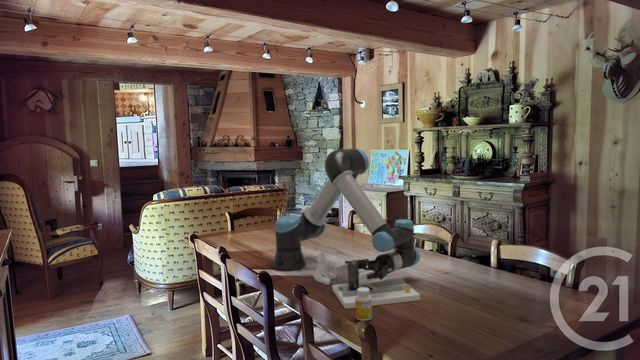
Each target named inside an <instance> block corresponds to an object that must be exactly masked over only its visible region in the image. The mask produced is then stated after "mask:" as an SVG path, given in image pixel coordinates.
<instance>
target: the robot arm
mask: <svg viewBox="0 0 640 360" xmlns="http://www.w3.org/2000/svg"><path fill="white" fill-rule="evenodd" d="M324 161H325V162H324V170H325V173H326V176H327V178H328V180H327V181H326V183H325V184H324V186H323V187H322V189H321V190H320V192H319V194H318V195H317V196H316V198H315V200H314V201H313V203H312V204H311V206H310V207H306V208H305V209H304V211H303V212H302V214H301V215H300V216H299V215H297V214H290V215H289V214H288V215H283V216H281V217H278V218H277V219H276V220H275V225H274V226H275V227H274V232H275V233H274V234H275V247H276V248H275V249H276V250H275V253H274V259H273V263H272V265H273V267H272V268H273V269H274V270H276V271H280V270H281V272H293V271H292V270H294V271H298V269H299V270H301V268H302V269H303V268H305V267H306V259H305V255H304V253H303V251H302V242H304V241H307V240H310V239H315V238H318V237H319V236H321V235H323V233H324V232H325V229H326V227H327V226H326V221H327V218H326V217H327V216H328V214H330V211H331V210H332V208H333V207H334V205H335V204H336V203H337V201H338V199H339V198H340V196H341V195H343V196H344V198H345V199H346V201H347V202H348V203H349V205H350V206H351V207H352V210H354V212H355V214H356V215H357V216H358V218H359V219H360V220H361V222H362V224H363V225H364V226H365V228H366V229H367V231H368V232H369V233H370V234H371V236H372V239H371V242H372V246H373V248H374V249H375V250H376V251H377V252H379V253H382V254H379V255H377V256H376V257H375V259H371V260H369V258H364V259H357V260H356V259H355V260H354V261H358V266H359V270H364V271H367V272H364V273H360V274H359V282H366V281H371V280H373V279H376V280H384V278H385V277H386V276H388V275H389V274H391V273H394V272H396V271H398V270H402V269H407V268H410V267H412V266H415V265H417V264H418V263H419V262H420V260H421V255H420V253H419V251H420V250H418V249H417V248H416V247H415V228H414V222H413V220H410V219H404V218H403V219H396V220H395V222H394V227H392V228H391V227H390V225H389V224H388V223H387V222H386V220H385V218H383V216H382V215H381V213H380V212H379V211H378V209H377V208H376V207H375V205H374V204H373V202H372V201H371V199H370V198H369V197H368V196H367V193H365V191H364V190H363V188H362V187H361V186H360V184H359V183H358V181H357V180H356V179H357V178H358V177H359V175H364V174H365V173H366V172H367V170H368V168H369V165H370V162H369V156H368V155H367V154H366V152H365V151H363V149H361V148H355V147H353V148H352V147H351V148H344V149H335V150H333V151H330V152H329V153H328V155H327V156H326V158H325V160H324ZM393 248H395V249H396V251H393ZM389 251H390V252H389ZM384 252H387V253H384ZM348 261H349V260H346V261H344V263H343V264H338V265H335V266H334V274H335V275H337V274H340V273H341V274H342V273H345V272H348Z"/></svg>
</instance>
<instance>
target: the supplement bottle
mask: <svg viewBox="0 0 640 360" xmlns="http://www.w3.org/2000/svg"><path fill="white" fill-rule="evenodd" d="M369 293H370V292H369V288H366V287H361V288H358V289H357V294H358V295H356V297H355V303H356V308H355V319H357V320H358V321H361V322H367V321H370V320H372V318H373V306H372V297H371V296H370V295H369Z"/></svg>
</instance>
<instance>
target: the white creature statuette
mask: <svg viewBox="0 0 640 360" xmlns="http://www.w3.org/2000/svg"><path fill="white" fill-rule="evenodd" d="M314 258H315V260H316V261H317V263H318V264H317V265H316V270H315V271H314V273H313V279H314V281H316V282H317V283H321V284H324V285H326V286H329V285H331V283H332V281H331V280H336V277H337V276H336V275H337V274H335V273H333V272H329V270H328V265H327V257H326V254H324V252H320V253H318V254H316V256H315V257H314Z"/></svg>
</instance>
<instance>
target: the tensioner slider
mask: <svg viewBox="0 0 640 360" xmlns="http://www.w3.org/2000/svg"><path fill="white" fill-rule="evenodd" d="M347 261H348V271H347V283H348V287H342V292H346V291H355V290H357V289H358V288H361V287H366V288H369V292H373V289H374V288H373V287H372V286H371V285H370V284H367V285H359V273H360V272H359V270H360V269H359V266H358V261H354V260H347Z"/></svg>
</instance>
